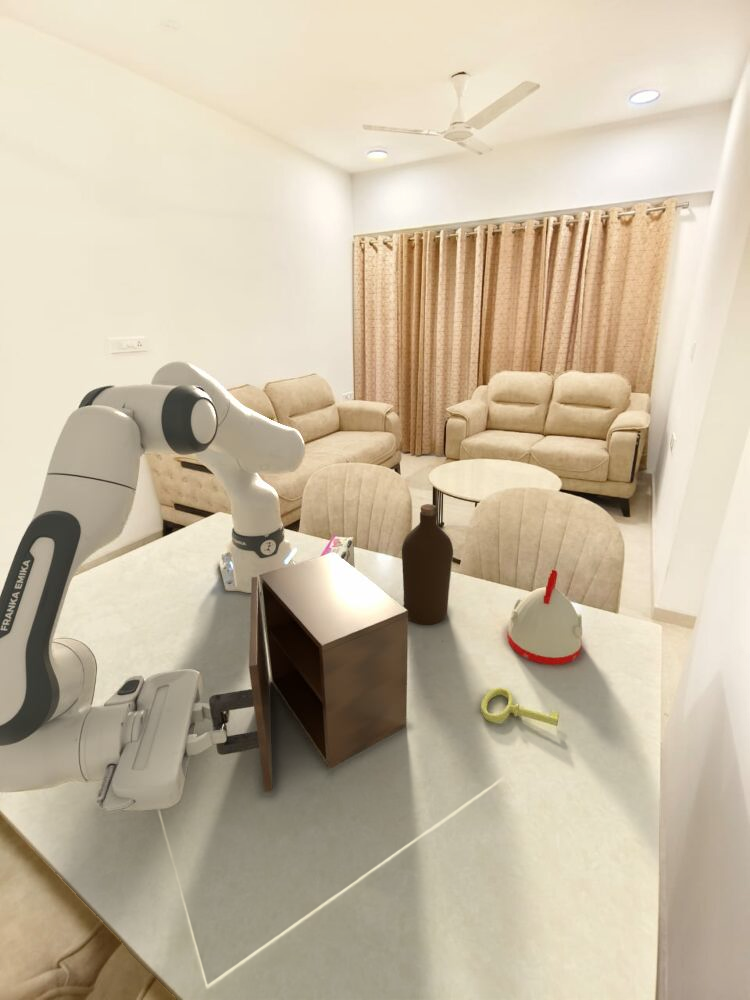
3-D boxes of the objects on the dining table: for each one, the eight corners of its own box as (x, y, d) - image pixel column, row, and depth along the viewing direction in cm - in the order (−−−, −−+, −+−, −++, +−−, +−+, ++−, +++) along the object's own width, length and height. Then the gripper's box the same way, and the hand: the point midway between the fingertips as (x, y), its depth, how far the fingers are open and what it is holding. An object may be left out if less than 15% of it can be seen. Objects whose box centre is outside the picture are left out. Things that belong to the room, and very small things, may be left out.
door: (221, 800, 68) (199, 673, 60) (230, 688, 88) (214, 581, 80) (272, 790, 70) (257, 665, 62) (269, 682, 90) (257, 576, 82)
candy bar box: (335, 599, 115) (332, 534, 108) (356, 601, 114) (354, 536, 108) (321, 628, 104) (316, 559, 98) (344, 631, 103) (341, 561, 97)
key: (560, 733, 78) (562, 722, 78) (480, 721, 81) (481, 711, 80) (554, 699, 85) (556, 689, 84) (480, 690, 87) (481, 680, 87)
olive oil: (411, 631, 103) (413, 520, 94) (394, 603, 113) (394, 500, 103) (458, 621, 106) (464, 513, 97) (437, 595, 116) (441, 494, 106)
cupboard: (329, 769, 73) (321, 645, 65) (270, 681, 90) (259, 574, 82) (406, 727, 80) (408, 610, 72) (338, 652, 97) (333, 552, 89)
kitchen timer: (585, 632, 102) (596, 567, 97) (574, 673, 91) (586, 603, 85) (516, 614, 108) (523, 552, 103) (499, 650, 97) (505, 583, 92)
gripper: (83, 793, 54) (215, 772, 56) (133, 668, 73) (231, 655, 75) (97, 833, 57) (222, 811, 59) (142, 701, 75) (236, 688, 77)
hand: (227, 723), depth 67 cm, fingers closed
